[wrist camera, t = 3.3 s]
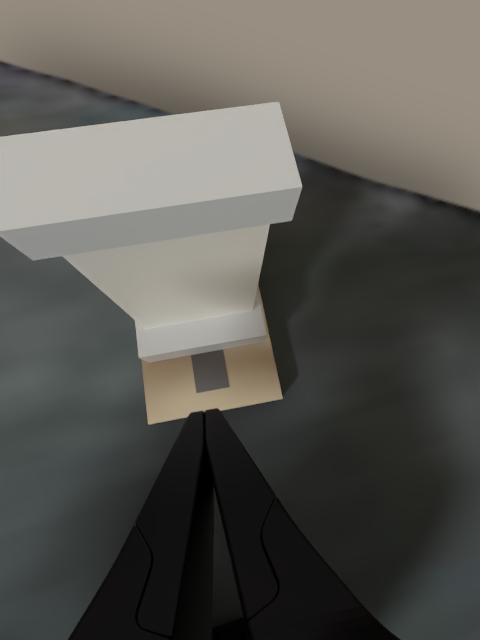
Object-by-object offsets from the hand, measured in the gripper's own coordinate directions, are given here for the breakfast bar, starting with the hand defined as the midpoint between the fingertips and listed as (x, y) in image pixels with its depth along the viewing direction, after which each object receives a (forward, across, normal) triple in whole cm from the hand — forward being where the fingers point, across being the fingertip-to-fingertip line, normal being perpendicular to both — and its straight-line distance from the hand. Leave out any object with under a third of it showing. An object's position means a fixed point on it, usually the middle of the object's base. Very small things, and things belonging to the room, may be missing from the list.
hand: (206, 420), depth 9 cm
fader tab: (+11, 0, +2) cm, 11 cm away
